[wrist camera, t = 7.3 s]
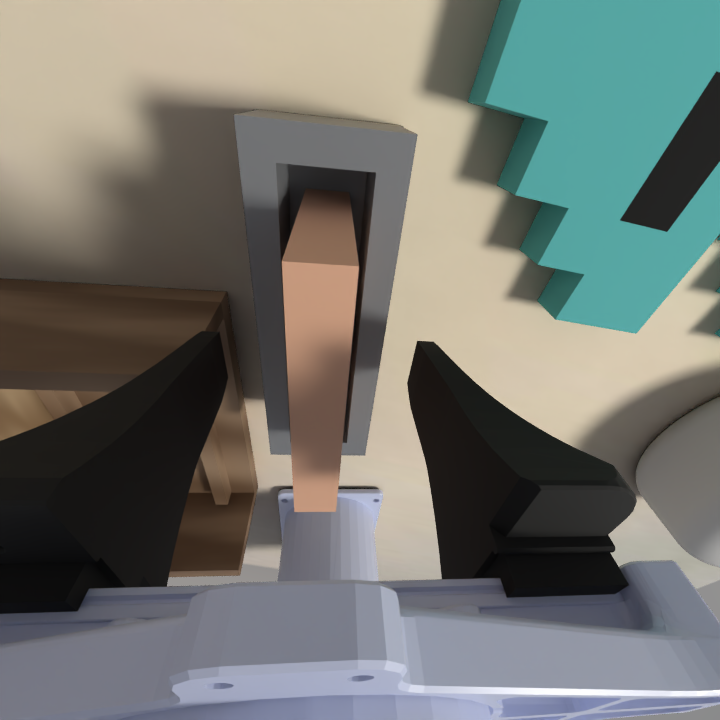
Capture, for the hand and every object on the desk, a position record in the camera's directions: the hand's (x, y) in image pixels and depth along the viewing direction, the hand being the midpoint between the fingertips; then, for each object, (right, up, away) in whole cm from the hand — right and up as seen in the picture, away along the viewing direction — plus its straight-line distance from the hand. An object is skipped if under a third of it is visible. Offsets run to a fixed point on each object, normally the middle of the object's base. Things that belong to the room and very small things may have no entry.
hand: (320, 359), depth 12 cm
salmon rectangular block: (0, +2, +3) cm, 4 cm away
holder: (0, +3, +4) cm, 5 cm away
